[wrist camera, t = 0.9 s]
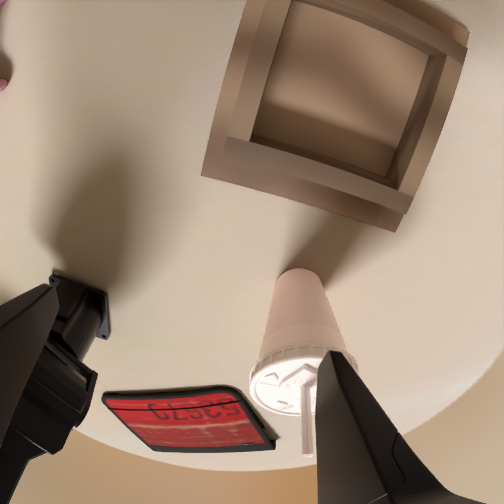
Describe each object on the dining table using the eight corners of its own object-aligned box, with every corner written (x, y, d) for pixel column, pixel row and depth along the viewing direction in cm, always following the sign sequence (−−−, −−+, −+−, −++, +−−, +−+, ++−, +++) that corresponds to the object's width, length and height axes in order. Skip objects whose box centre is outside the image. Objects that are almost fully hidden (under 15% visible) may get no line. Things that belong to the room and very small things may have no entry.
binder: (275, 451, 38) (154, 453, 43) (276, 438, 40) (157, 442, 45) (232, 391, 31) (93, 398, 36) (235, 375, 33) (99, 386, 38)
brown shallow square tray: (392, 229, 21) (406, 250, 19) (202, 173, 20) (191, 188, 18) (465, 32, 13) (490, 30, 11) (265, -51, 12) (264, -69, 10)
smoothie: (339, 250, 23) (384, 425, 11) (336, 314, 26) (360, 471, 14) (252, 255, 23) (230, 435, 11) (261, 319, 27) (250, 477, 15)
